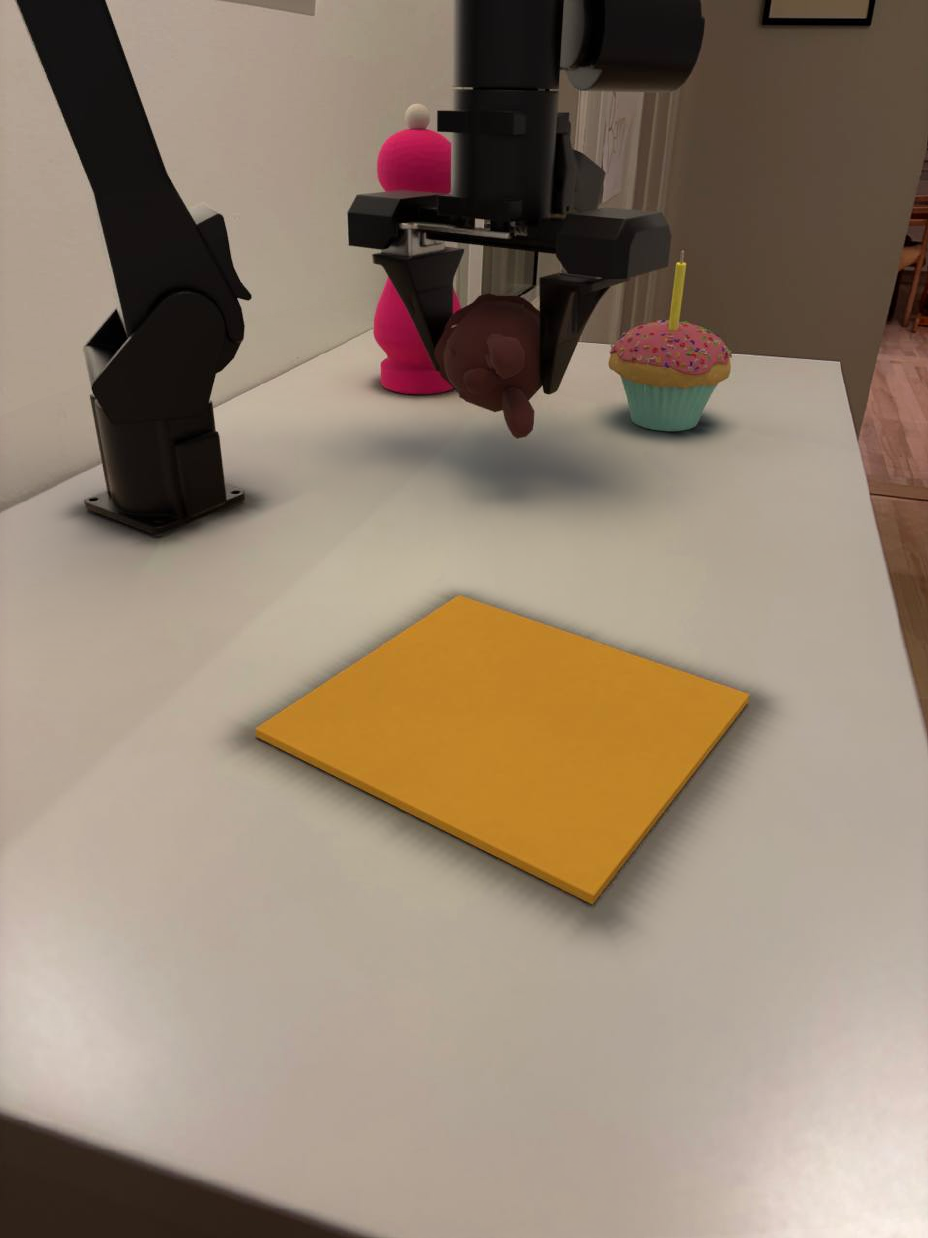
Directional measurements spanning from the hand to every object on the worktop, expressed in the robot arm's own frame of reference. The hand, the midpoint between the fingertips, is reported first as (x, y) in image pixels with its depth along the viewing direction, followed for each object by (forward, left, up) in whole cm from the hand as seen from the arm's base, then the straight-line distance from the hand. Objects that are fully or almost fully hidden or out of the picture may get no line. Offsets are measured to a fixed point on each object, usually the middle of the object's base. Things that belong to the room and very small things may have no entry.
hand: (495, 381), depth 57 cm
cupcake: (+5, +15, -6) cm, 17 cm away
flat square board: (+16, -23, -5) cm, 29 cm away
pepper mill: (-15, +12, -6) cm, 20 cm away
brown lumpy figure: (0, 0, -2) cm, 2 cm away
